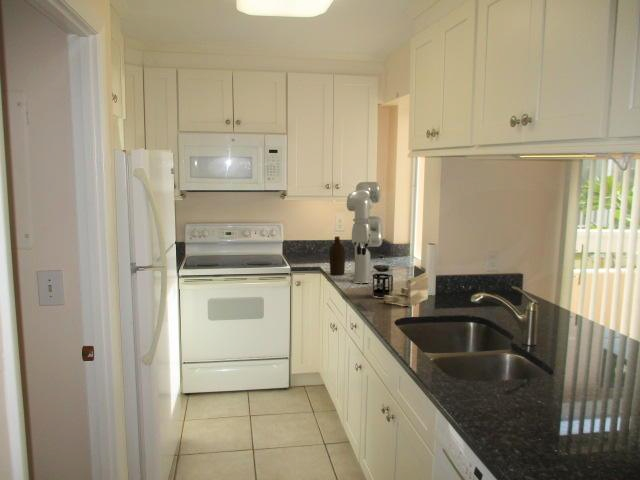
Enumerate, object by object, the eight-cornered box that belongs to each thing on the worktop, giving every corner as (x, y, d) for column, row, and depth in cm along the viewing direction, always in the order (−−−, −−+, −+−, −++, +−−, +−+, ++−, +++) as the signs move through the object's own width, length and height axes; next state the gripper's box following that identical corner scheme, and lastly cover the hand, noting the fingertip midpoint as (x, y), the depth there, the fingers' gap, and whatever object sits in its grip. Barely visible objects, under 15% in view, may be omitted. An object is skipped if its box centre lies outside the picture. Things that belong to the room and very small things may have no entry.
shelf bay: (383, 303, 252) (384, 276, 250) (402, 294, 269) (402, 269, 267) (410, 307, 244) (410, 280, 242) (427, 298, 260) (428, 272, 258)
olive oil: (336, 276, 316) (336, 238, 312) (326, 274, 324) (325, 236, 320) (348, 274, 322) (348, 236, 319) (338, 271, 330) (337, 235, 327)
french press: (374, 299, 259) (374, 257, 256) (368, 295, 268) (369, 254, 265) (395, 298, 262) (395, 256, 258) (389, 294, 271) (389, 253, 267)
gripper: (345, 221, 268) (345, 254, 271) (370, 223, 259) (370, 257, 262) (352, 220, 274) (352, 252, 277) (377, 221, 265) (377, 255, 268)
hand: (361, 254), depth 269 cm, fingers closed
